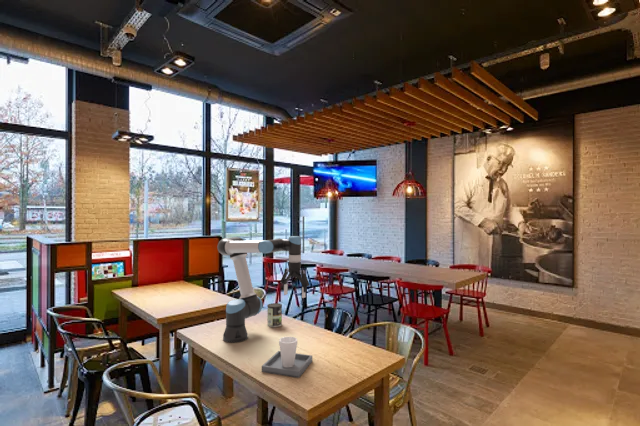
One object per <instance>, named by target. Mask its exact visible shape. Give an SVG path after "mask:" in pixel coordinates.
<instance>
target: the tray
mask: <svg viewBox="0 0 640 426" xmlns="http://www.w3.org/2000/svg"><path fill="white" fill-rule="evenodd" d="M312 362H313V355H311V354H304V353H297V352H296V355H295V363H294V366H292V367H283V366H282V361H281V352H280V350H278V351H277V352H275V353H274V354H273V355H272V356H271V357H270V358H269V359H267V361H265V362H264V363H263V364H262V365H261V373H266V374H272V375H279V376H283V377H290V378H297V379H299V378H300V377H301V376H302V375H303V374H304V372H305V371H306V370H307V368H308V367H310V365H311V364H312Z"/></svg>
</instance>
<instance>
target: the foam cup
mask: <svg viewBox="0 0 640 426" xmlns="http://www.w3.org/2000/svg"><path fill="white" fill-rule="evenodd" d="M278 340H279V341H278V345H279V351H280V352H281V361H282V366H283V367H292V366H294V363H295V355H296V353H297V347H298V338H297V337H296V336H295V337H294V336H283V337H280V338H279V339H278Z"/></svg>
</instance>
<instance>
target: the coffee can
mask: <svg viewBox="0 0 640 426" xmlns="http://www.w3.org/2000/svg"><path fill="white" fill-rule="evenodd" d="M282 306H283V304H282V303H279V302H278V303H276V302H275V303H269V304H268V303H267V305H266V307H267V316H266V317H267V322H266V323H267V324H266V326H267V327H270V328H278V327H281V326H282V324H283V322H282V320H283V319H282V317H283V307H282Z"/></svg>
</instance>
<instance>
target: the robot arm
mask: <svg viewBox="0 0 640 426" xmlns="http://www.w3.org/2000/svg"><path fill="white" fill-rule="evenodd" d="M216 248H217V251H218V254H219V253H220V254H221V255H223V256H229V259H230V260H232V262H233V266H234V271H235V276H236V280H237V284H238V288H239V293H240V296H239V298H237V299H231V300H230V301H228V302H227V303H226V308H225V329H224V332H223V335H222V339H223V340H222V341H224V342H226V343H231V344H232V343H240V342H244V341H247V339H248V338H249V336H248V330H247V327H246V319H249V318H250V317H254V316H256V315H259V314H260V313H261V311H262V309H263V301H262V299H261V298H260V297H259V296H258V294H257V293H256V292H254V287H253V284H252V279H251V275H250V270H249V266H248V262H247V255H248V254H251V253H252V254H255V253H256V254H261V253H262V254H271V253H277V252H288V268H287V267H286V268H284V272H283V274H282V277H281V279H280V283H281V284H282V289H283V295H284V296H286V295H288V293H289V292H288V287H289V286H288V282H289V280H290V279H291V278H293V277H294V278H297V279H298V280H299V283H301V286H302V287H301V299H304V298H306V297H307V296H306V293H307V287H309V286H310V282H309V280H308V277H307V275H306V270H305V269H303V270H301V267H302V262H301V261H302V237H301V236H299V235H290V236H288V239H287V238H280V237H279V238H273V239H267V240H266V239H262V240H258V239H257V240H247V239H246V238H245V237H243V236H233V237H224V238H222V239H220V240H219V241H218V243H217V247H216Z"/></svg>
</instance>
